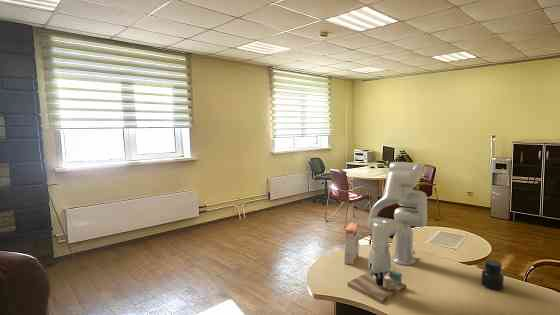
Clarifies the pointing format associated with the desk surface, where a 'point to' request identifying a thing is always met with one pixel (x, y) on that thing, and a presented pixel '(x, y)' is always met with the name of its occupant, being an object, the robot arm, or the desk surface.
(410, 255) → the robot arm
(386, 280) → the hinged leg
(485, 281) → the ink bottle
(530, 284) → the desk surface
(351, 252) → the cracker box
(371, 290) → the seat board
